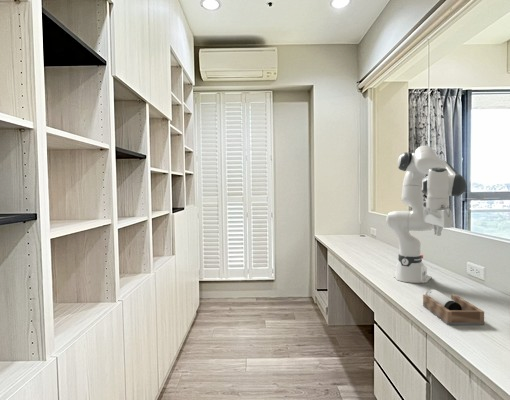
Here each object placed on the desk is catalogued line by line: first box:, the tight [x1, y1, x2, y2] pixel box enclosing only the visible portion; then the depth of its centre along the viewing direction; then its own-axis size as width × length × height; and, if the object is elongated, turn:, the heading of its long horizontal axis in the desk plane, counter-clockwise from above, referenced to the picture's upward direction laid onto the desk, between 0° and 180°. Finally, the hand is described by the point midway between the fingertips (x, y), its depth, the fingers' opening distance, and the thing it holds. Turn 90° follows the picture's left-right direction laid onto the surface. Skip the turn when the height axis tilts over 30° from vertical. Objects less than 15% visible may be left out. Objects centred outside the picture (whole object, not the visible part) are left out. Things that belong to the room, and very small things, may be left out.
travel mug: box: [424, 288, 462, 310], centre depth 158 cm, size 6×7×20 cm
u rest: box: [422, 293, 485, 326], centre depth 155 cm, size 22×14×5 cm, turn 179°
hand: (437, 235), depth 166 cm, fingers closed
